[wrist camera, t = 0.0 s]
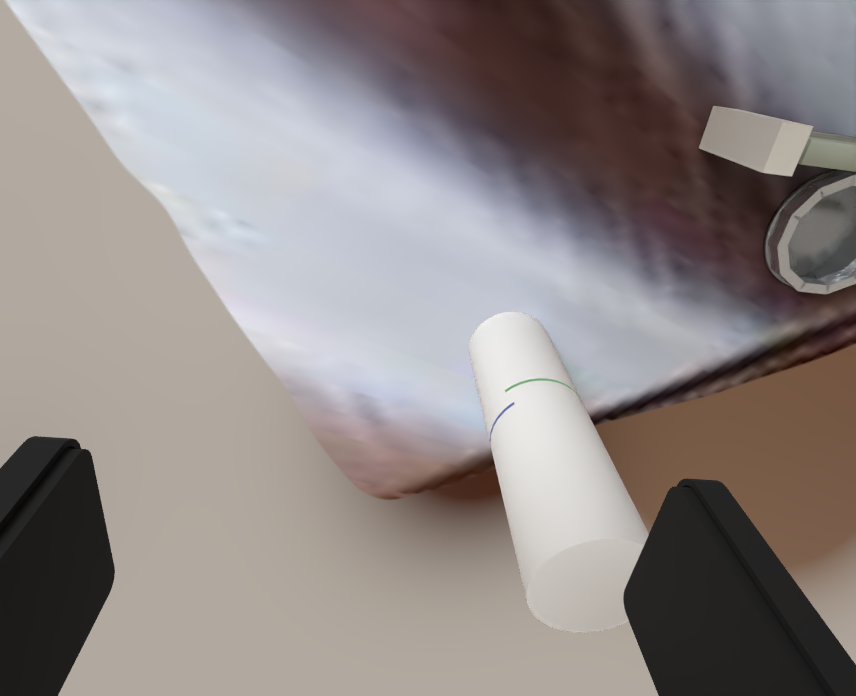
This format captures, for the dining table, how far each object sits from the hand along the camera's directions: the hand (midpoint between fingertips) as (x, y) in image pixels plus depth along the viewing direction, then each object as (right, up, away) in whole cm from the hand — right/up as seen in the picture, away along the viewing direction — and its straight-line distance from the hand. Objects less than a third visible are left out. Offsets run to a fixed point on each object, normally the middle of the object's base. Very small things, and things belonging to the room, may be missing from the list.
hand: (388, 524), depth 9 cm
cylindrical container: (+8, +3, +41) cm, 42 cm away
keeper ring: (+33, +13, +37) cm, 52 cm away
